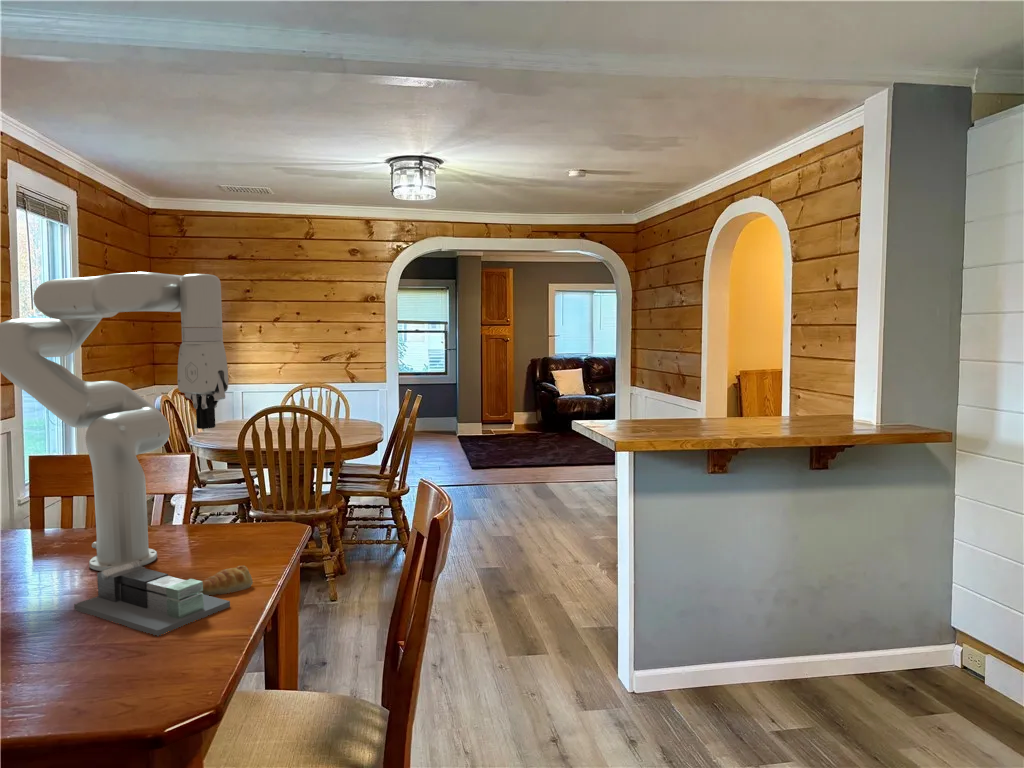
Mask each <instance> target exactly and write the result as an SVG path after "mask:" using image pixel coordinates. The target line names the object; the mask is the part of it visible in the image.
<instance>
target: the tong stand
mask: <svg viewBox="0 0 1024 768" xmlns="http://www.w3.org/2000/svg"><path fill="white" fill-rule="evenodd" d="M142 568H145V569H147V567H146V566H141V563H140V561H139V560H136V561H133V562H130V563H126V564H123V565H120V566H116V567H113V568H110V569H107V570H103V571H99V572H97V573H96V574H97V575H96V577H97V580H96V581H97V594H98V596H97V597H99V598H103V599H106V600H109V601H113V602H118V601H120V600H121V601H122V602H125V603H129V604H132V605H136V606H139V607H142V608H148V609H152V610H155V611H158V612H162V613H165V614H167V616H170V617H174V618H177V619H180V618H183V617H185V616H188V615H190V614H193V613H195V612H198V611H200V610H203V609H204V602H203V593H200V592H198V593H195V594H192V595H190V596H187V597H184V598H182V599H179V600H177V599H173V598H170V597H167V595H166V594H162V593H158V592H154V591H151V590H147V589H146V590H144V589H141V588H137V587H133V586H129V585H126V584H122V583H120V575H123V574H126V573H129V572H132V571H135V570H139V569H142Z"/></svg>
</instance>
